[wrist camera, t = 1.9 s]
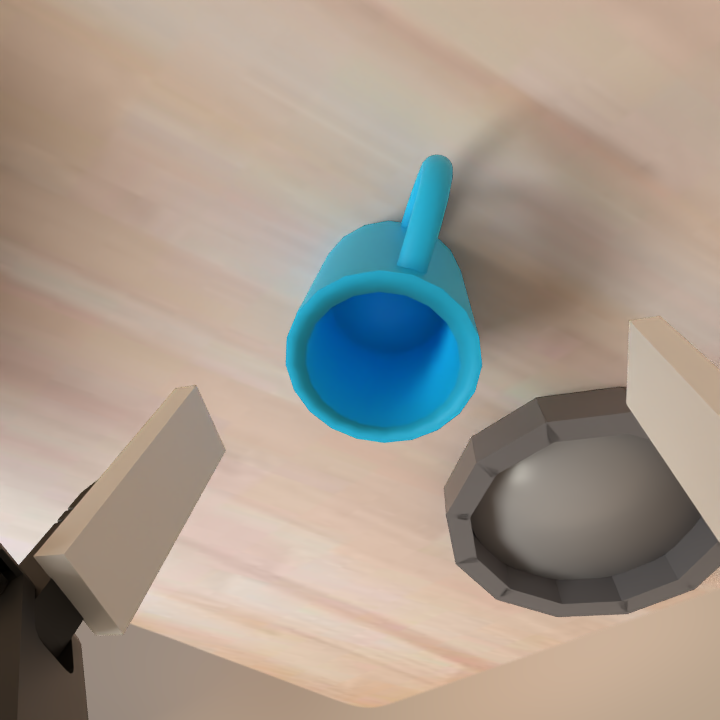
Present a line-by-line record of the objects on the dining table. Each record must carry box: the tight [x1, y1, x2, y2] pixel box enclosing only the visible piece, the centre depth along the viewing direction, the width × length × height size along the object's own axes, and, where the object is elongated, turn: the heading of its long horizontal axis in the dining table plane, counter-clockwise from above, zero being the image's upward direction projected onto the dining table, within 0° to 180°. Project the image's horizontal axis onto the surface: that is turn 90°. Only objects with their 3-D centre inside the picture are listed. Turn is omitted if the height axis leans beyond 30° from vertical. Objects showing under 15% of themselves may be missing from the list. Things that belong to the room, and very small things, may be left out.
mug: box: [286, 155, 482, 443], centre depth 22 cm, size 12×8×8 cm
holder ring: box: [444, 387, 720, 617], centre depth 32 cm, size 18×18×2 cm
